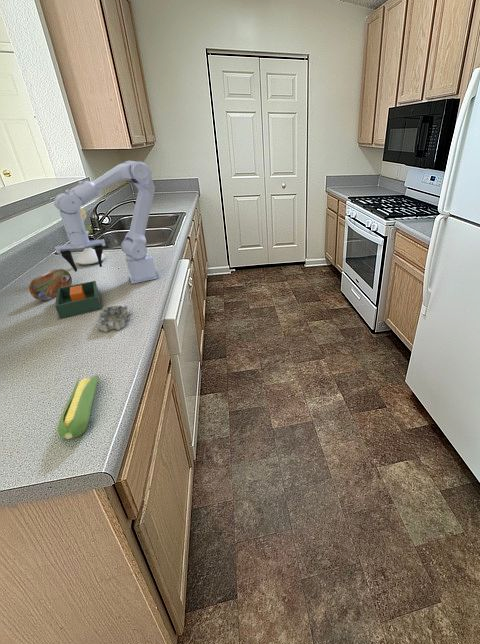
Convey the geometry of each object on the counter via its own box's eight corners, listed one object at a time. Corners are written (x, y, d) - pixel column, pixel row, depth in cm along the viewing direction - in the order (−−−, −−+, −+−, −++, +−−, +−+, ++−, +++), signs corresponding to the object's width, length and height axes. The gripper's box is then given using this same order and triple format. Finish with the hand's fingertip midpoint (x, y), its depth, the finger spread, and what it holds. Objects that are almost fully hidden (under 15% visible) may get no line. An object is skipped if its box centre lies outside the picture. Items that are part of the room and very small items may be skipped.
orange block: (86, 297, 117) (81, 284, 115) (86, 305, 111) (81, 292, 109) (74, 300, 115) (69, 287, 113) (74, 308, 110) (69, 295, 108)
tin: (40, 304, 114) (31, 282, 110) (33, 303, 115) (23, 281, 111) (75, 286, 127) (68, 265, 123) (68, 285, 128) (60, 265, 124)
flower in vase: (72, 263, 148) (52, 207, 137) (97, 256, 157) (80, 202, 146) (88, 269, 142) (68, 210, 131) (113, 261, 151) (97, 205, 139)
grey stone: (124, 329, 99) (120, 317, 97) (96, 333, 97) (92, 321, 95) (131, 312, 108) (128, 301, 106) (106, 315, 106) (102, 304, 104)
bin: (99, 291, 122) (95, 280, 120) (101, 308, 110) (97, 296, 108) (61, 299, 117) (57, 288, 115) (60, 318, 105) (55, 306, 103)
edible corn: (57, 449, 62) (48, 432, 60) (81, 381, 78) (75, 365, 76) (88, 441, 63) (80, 424, 61) (105, 376, 80) (100, 360, 78)
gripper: (49, 237, 105) (64, 276, 111) (101, 230, 112) (112, 267, 118) (51, 232, 111) (64, 269, 117) (100, 225, 117) (110, 261, 123)
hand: (88, 268), depth 118 cm, fingers open, 7 cm apart
